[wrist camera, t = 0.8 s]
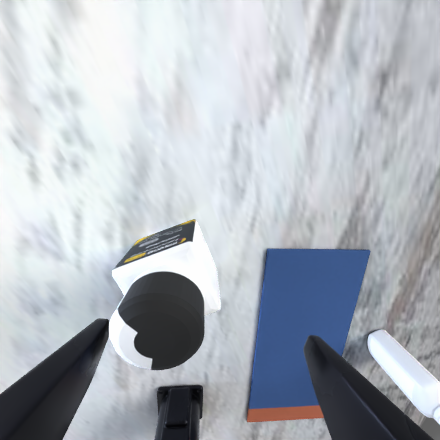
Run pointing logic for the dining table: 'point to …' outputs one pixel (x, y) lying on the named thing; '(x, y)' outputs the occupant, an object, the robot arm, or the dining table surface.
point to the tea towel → (300, 325)
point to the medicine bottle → (164, 298)
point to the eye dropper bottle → (406, 373)
